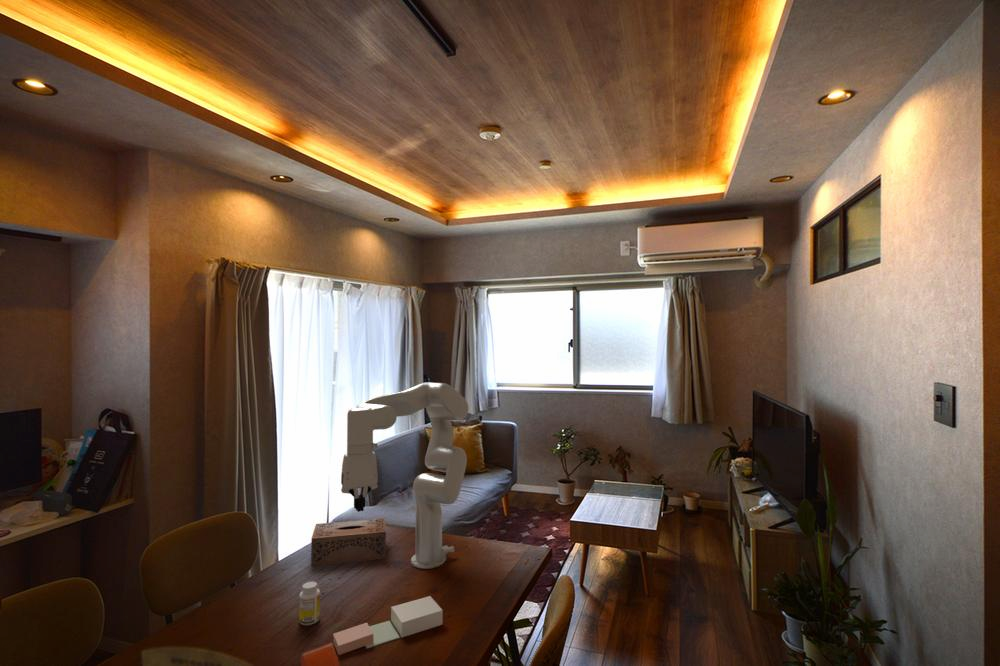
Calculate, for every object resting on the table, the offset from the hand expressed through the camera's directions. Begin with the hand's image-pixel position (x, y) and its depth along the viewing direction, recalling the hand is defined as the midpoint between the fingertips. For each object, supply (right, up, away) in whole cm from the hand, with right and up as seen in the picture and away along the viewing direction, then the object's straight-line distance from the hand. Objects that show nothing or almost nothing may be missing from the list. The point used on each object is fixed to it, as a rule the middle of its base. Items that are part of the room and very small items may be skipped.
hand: (359, 509), depth 148 cm
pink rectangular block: (+4, -26, -18) cm, 32 cm away
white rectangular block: (+19, -29, -8) cm, 36 cm away
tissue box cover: (-14, -30, +37) cm, 49 cm away
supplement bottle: (-12, -29, -8) cm, 32 cm away
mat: (+9, -29, -14) cm, 33 cm away
